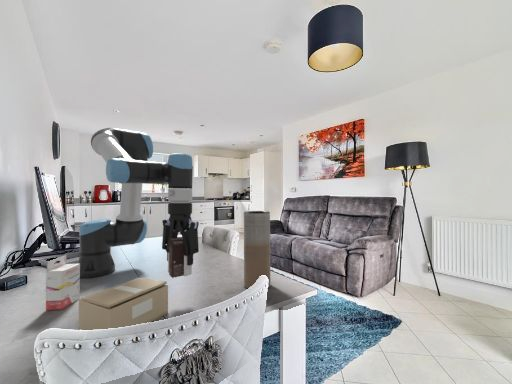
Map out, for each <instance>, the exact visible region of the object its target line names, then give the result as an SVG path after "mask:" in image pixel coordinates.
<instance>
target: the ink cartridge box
mask: <svg viewBox="0 0 512 384" xmlns="http://www.w3.org/2000/svg"><path fill="white" fill-rule="evenodd" d="M66 262H67V259H66V255H65V256H62V257H58V258H56V259H53V260H50V261H48V264H47V266H46V272H45V273H46V274H45V276H46V278H45V279H46V280H45V281H46V282H45V310H46V311H54V310H55V311H56V310H57V311H58V310H61V311H62V310H63V309H65V308H66V307H69V306H70V305H72V303H74V302H76V301H79V299H80V295H81V294H80V288H81V287H80V286H81V282H80V280H81V278H80V264H66ZM54 263H57V264H54Z"/></svg>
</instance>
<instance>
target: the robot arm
mask: <svg viewBox="0 0 512 384" xmlns="http://www.w3.org/2000/svg"><path fill="white" fill-rule="evenodd" d="M90 146H91V148H92V149H93V151H94V152H95V153H96V154H97V155H99V156H101V158H102V159H103V160H104V162H105V163H106V164H105V175H106V180H107V181H108V182H109V183H113V184H114V183H116V184H117V183H118V184H120V185H121V190H120V191H121V194H120V204H119V205H120V210H119V214H117V215H116V217H115V221H112V220H111V218H103V219H95V220H94V219H93V220H90V221H89V220H88V221H86V222H83V223H81V224H80V226H79V233H78V236H79V251H78V252H80V256H78V257H79V258H78V259H77V260H78V263H77V264H80V279H87V278H96V277H102V276H106V275H109V274H111V273H114V272H115V271H116V265H115V262H114V259H113V257H112V252H111V248H112V247H122V246H127V245H135V244H136V245H137V244H140V243H142V242H143V241H144V240H145V239H146V235H147V231H148V230H147V229H148V228H147V225H148V224H147V221H146V220H145V219H144V217H143V216H142V214H141V207H142V206H141V202H142V191H143V184H144V185H145V184H147V185H153V184H154V185H167V193H168V194H167V201H168V204H167V213H168V215H169V217H168V218H166V219H162V242H161V247H162V248H161V249H162V250H165V251H166V261H167V273H168V274H169V238H175V237H179V236H178V235H179V234H180V236H181V237H182V238H183V243H184V247H185V251H186V254H185V255H184V276H183V277H189V276H190V275H192V274H193V271H192V269H193V264H194V256H195V255H196V254H197V253H199V246H200V245H199V230H198V229H199V226H200V224H199V223H200V222H199V221H193V220H192V217H191V216H192V215H191V214H193V203H192V201H193V177H194V176H193V173H194V172H193V171H194V169H193V168H194V166H193V157H192V156H191V154H187V153H171V154H170V153H169V155H168V157H167V162H160V161H148V159H152V157H153V155H154V144H153V141H152V138H151V136H150V135H149V134H147V133H146V132H141V131H135V130H129V129H122V128H117V127H116V128H115V127H107V128H102V129H99V130H97V131H95V132H94V133H93V134H92V136H91V139H90ZM189 250H190V251H189ZM194 254H195V255H194Z"/></svg>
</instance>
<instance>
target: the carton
mask: <svg viewBox="0 0 512 384" xmlns="http://www.w3.org/2000/svg"><path fill="white" fill-rule="evenodd" d="M167 314H169V285H167V284H165V285H162V286H160V287H158V288H155V289H153V290H150V291H148V292H146V293H143V294H141V295H138V296H136V297H134V298H131V299H129V300H126V301H124V302H122V303H119V304H117V305H114V306H112V307H110V308H108V307H104V306H100V305H97V304H93V303H90V302H86V301H83V300H81V298H79V299H78V330H79V329H82V330H93V329H108V328H118V327H125V326H131V325H136V324H141V323H147V322H151V323H153V322H155V321H156V320H158V319H160V318H162V317H164V316H166V315H167ZM152 321H153V322H152Z"/></svg>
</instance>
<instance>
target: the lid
mask: <svg viewBox="0 0 512 384" xmlns="http://www.w3.org/2000/svg"><path fill="white" fill-rule="evenodd" d="M167 284H168V283H167V281H165V280H160V279H153V278H148V277H137V278H134V279H132V280H128V281H126V282H123V283H120V284H117V285H115V286H110V287H108V288H105V289H102V290H100V291H97V292H94V293H91V294H88V295H85V296H82V297H80V299H81V300H83V301H86V302H90V303H93V304H97V305H100V306H104V307H108V308H110V307H112V306H114V305H117V304H119V303H122V302H124V301H126V300H129V299H131V298H134V297H136V296H138V295H141V294H143V293H146V292H148V291H150V290H153V289H155V288H158V287H160V286H162V285H167Z"/></svg>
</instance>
